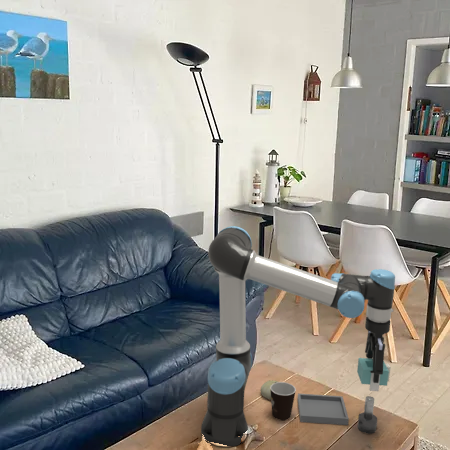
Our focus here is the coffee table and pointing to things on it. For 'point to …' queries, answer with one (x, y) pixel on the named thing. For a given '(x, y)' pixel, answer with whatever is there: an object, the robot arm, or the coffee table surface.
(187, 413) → the coffee table surface
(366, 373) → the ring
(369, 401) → the cylinder
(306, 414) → the tray
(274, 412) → the coffee mug
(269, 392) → the sea urchin shell
